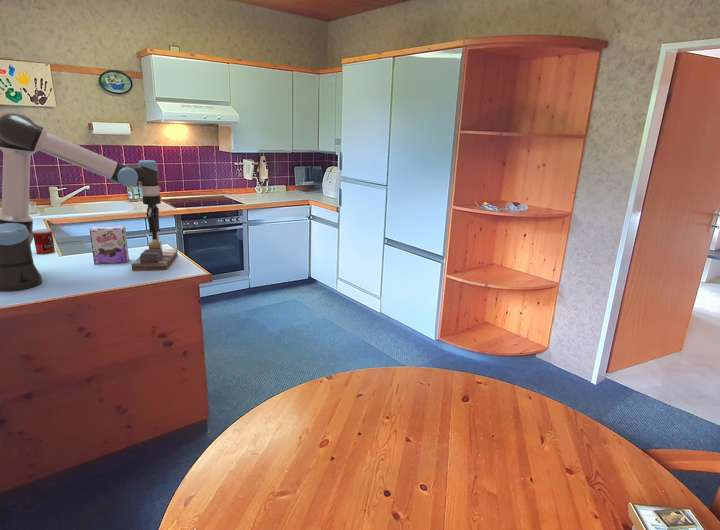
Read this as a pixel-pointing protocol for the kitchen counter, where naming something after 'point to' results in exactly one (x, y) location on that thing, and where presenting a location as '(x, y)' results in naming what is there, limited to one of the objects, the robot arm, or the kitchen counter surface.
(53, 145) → the robot arm
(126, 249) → the candy box
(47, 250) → the canned food
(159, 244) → the bolt
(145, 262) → the door mockup
